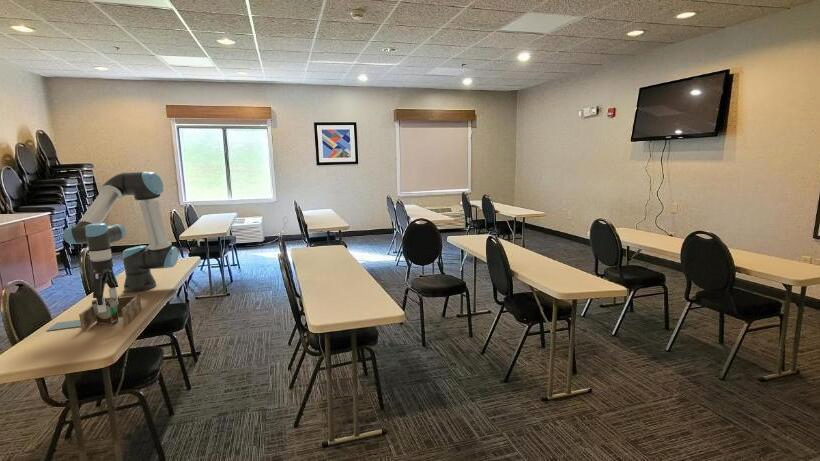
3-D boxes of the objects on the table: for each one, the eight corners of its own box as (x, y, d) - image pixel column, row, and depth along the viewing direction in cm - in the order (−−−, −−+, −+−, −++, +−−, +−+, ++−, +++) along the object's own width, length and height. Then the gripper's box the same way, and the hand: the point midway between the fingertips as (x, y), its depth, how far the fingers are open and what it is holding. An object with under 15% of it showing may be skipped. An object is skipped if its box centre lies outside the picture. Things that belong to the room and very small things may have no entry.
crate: (100, 314, 190) (98, 299, 189) (141, 309, 195) (139, 294, 194) (81, 330, 171) (79, 314, 170) (127, 324, 176) (124, 308, 175)
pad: (57, 323, 180) (57, 322, 180) (94, 318, 184) (94, 317, 184) (46, 331, 171) (46, 330, 171) (86, 326, 176) (86, 325, 176)
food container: (128, 319, 181) (124, 298, 180) (114, 325, 176) (110, 303, 174) (108, 317, 185) (105, 296, 184) (94, 322, 180) (90, 300, 178)
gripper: (102, 254, 186) (109, 299, 190) (77, 266, 163) (86, 317, 166) (121, 253, 189) (128, 297, 192) (99, 264, 165) (107, 315, 168)
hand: (108, 307), depth 179 cm, fingers open, 13 cm apart
